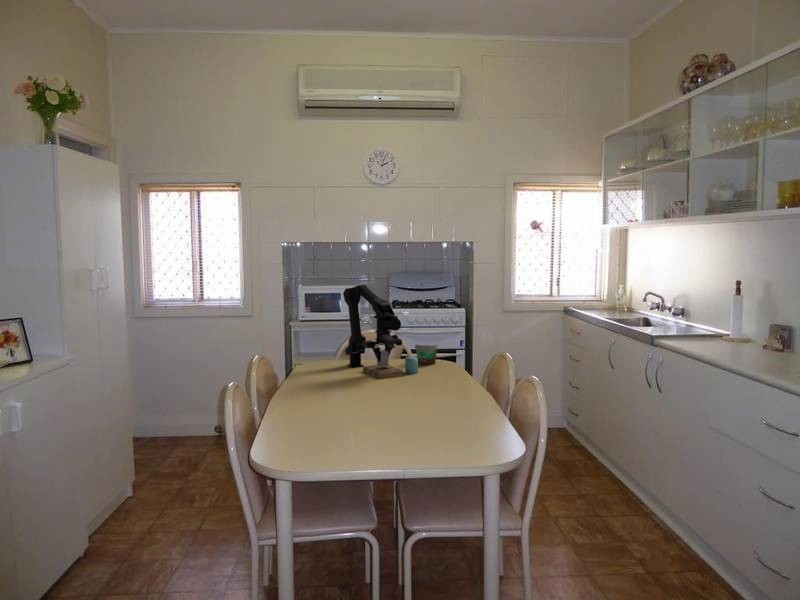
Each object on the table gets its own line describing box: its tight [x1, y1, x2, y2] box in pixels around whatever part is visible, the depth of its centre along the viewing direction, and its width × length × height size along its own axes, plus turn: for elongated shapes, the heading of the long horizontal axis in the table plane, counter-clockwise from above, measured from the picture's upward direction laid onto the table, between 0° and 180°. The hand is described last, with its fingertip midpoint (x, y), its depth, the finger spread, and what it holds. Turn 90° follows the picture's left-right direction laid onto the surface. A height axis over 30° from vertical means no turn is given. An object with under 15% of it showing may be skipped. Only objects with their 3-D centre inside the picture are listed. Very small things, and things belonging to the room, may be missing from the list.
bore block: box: [362, 364, 404, 380], centre depth 268 cm, size 18×12×2 cm, turn 30°
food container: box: [414, 343, 439, 366], centre depth 289 cm, size 12×6×10 cm, turn 73°
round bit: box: [404, 356, 419, 375], centre depth 270 cm, size 6×6×7 cm
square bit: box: [376, 349, 389, 366], centre depth 268 cm, size 4×4×7 cm
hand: (382, 360), depth 268 cm, fingers closed on square bit, 4 cm apart
